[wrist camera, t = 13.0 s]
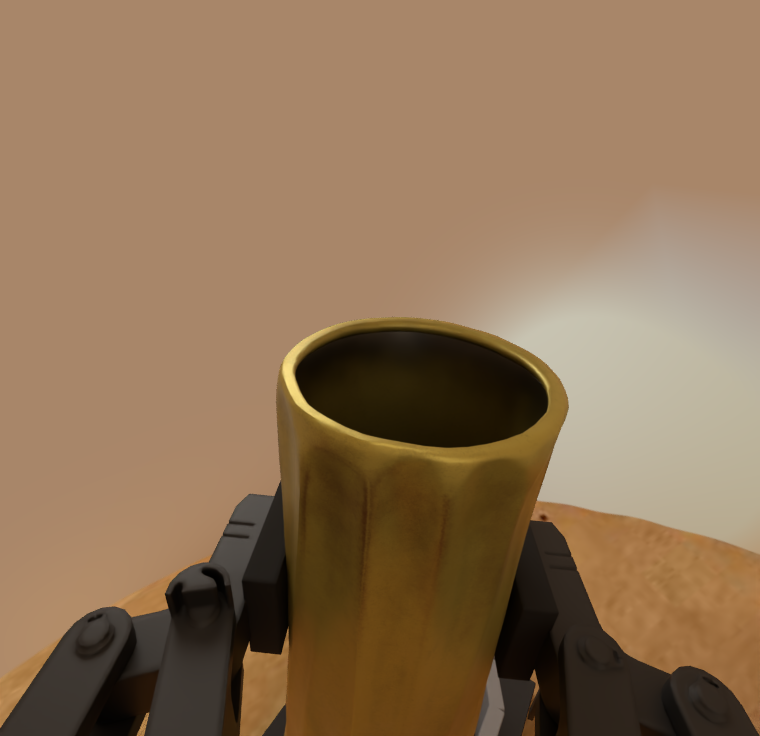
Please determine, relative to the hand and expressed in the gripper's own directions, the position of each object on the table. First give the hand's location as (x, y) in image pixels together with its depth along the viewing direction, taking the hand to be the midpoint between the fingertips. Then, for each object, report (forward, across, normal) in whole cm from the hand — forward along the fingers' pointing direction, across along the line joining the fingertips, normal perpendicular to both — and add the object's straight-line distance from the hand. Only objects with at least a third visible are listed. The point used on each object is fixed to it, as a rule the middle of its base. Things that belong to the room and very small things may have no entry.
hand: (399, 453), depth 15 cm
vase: (-5, 0, -8) cm, 10 cm away
